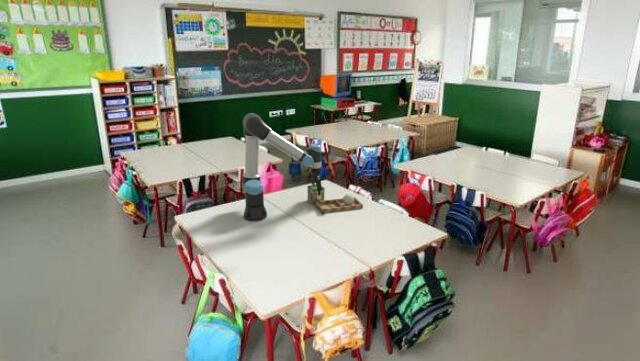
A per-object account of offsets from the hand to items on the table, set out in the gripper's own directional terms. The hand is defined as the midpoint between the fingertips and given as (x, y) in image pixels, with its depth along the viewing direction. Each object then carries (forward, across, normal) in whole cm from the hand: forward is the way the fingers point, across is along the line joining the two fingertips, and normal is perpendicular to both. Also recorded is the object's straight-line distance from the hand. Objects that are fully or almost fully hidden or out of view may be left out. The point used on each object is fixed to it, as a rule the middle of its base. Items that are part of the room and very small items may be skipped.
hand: (316, 195), depth 289 cm
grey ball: (+4, -15, -19) cm, 24 cm away
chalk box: (+5, 0, 0) cm, 5 cm away
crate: (+5, -15, -12) cm, 20 cm away
